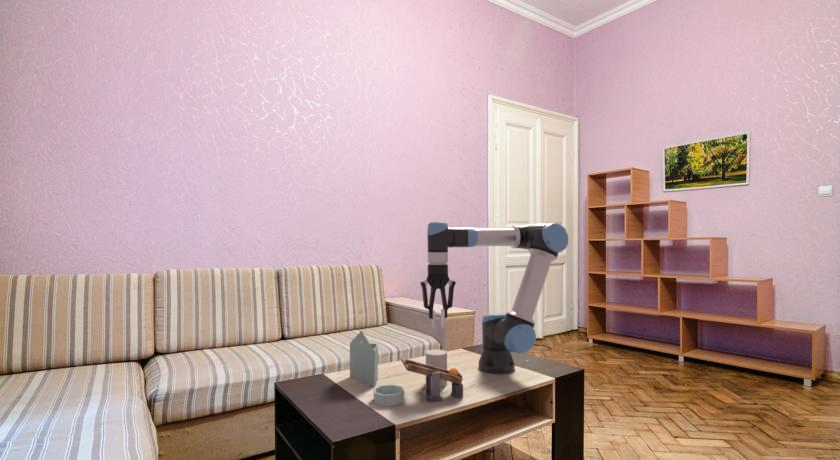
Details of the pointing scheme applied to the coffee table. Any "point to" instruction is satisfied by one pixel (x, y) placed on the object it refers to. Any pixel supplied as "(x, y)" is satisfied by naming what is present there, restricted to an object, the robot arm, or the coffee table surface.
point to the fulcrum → (433, 387)
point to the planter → (364, 360)
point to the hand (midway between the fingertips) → (438, 327)
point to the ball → (454, 372)
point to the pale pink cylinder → (437, 361)
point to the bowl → (388, 395)
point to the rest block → (457, 390)
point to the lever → (430, 370)
